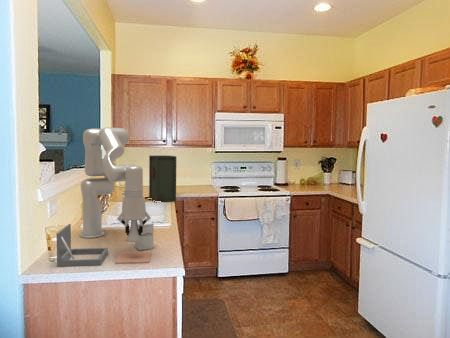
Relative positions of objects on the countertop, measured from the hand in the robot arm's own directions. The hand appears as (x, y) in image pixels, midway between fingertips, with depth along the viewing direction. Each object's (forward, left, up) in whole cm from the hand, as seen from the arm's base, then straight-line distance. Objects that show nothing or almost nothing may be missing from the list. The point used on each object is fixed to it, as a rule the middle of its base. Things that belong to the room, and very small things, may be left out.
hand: (134, 234), depth 153 cm
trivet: (0, 0, -11) cm, 11 cm away
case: (0, -21, -11) cm, 24 cm away
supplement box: (-15, +3, -11) cm, 19 cm away
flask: (0, 0, -3) cm, 3 cm away
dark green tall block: (-153, +7, -11) cm, 154 cm away
